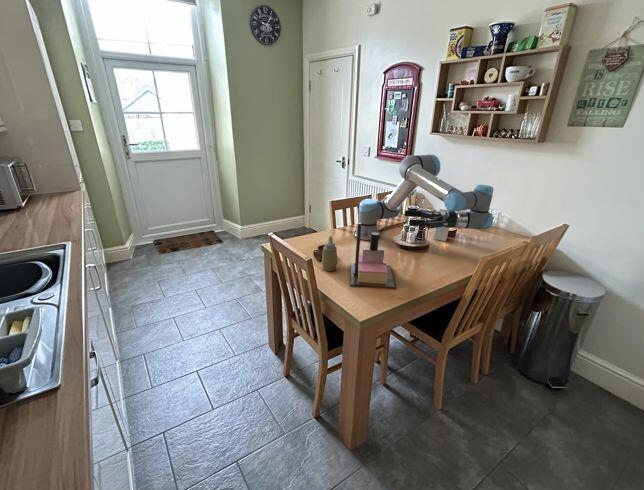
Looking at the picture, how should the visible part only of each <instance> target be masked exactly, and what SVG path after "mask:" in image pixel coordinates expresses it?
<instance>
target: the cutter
mask: <svg viewBox="0 0 644 490" xmlns="http://www.w3.org/2000/svg"><path fill="white" fill-rule="evenodd" d="M379 240H380V233H379V232H378V233H376V232H373V233H371V240H370V244H369V248H363V249H362V256H363V257H362V262H364V263H383V260H384V257H385V249H379Z"/></svg>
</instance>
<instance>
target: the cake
mask: <svg viewBox="0 0 644 490" xmlns="http://www.w3.org/2000/svg"><path fill="white" fill-rule="evenodd" d="M362 257H363V254H362V255H361V254H359V263H358V281H359V282H363V283H381V284H387V277H388V270H387V266H386V265H387V261H386V258H385V257H386V256H384V260H383V263H364V262H362Z"/></svg>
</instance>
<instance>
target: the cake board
mask: <svg viewBox="0 0 644 490" xmlns="http://www.w3.org/2000/svg"><path fill="white" fill-rule="evenodd" d="M357 226H358V228H357V227H356V228H357V238H356V243H355V245H356V246H355V258H354V263H350V287H354V288H355V287H357V288H371V289H392V290H395V289H396V286H395V281H394V277H393V274H392V269H391V266H390V264H389V265H388V264H386V266H387V270H388V277H387V284H381V283H363V282H359V281H358V263H359V255H360V248H361V239H360V235H361V223H358V222H357Z"/></svg>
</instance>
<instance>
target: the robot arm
mask: <svg viewBox="0 0 644 490" xmlns="http://www.w3.org/2000/svg"><path fill="white" fill-rule="evenodd" d="M398 172H399V174H400V176H401V178H402V180H401V181H400V182H399V184H398V185H397V186H396V187H395V189H394V190H393V191H392V192H391V193H390V194H387V195H386V196H384V197H383V198H382V200H378V199H377V198H365V199H362V200H361V201H360V202H359V207H358V222H357V224H358V223H361V235H360V241H371V233H373V232H376V233H379V232H381V231H383V230H384V229H387V228H391V227H395V226H399V225H402V224H406V223H408V226H409V227H424V228H427V229H436V228H438V227H446V228H449V229H458V230H461V229H469V230H489V229H490V228H491V227H492V226H493V223H494V216H493V213H491V212H490V208H491V203H492V199H493V195H494V187H493V186H491V185H488V184H476V185H475V186H474V189H473V190H469V191H462V190H459V189H458V188H456V187H454V186H453V185H452V184H449V183H447V182H446V181H444V180H443V179H441V178H439V177H437V176H438V175H439V174H440V172H441V160H440V159H439V157H438V156H437V155H436V154H431V153H429V154H415V155H414V154H413V155H409V156H406V157H405V158H403V159H402V161H400V164H399V168H398ZM418 187H419V188H421V189H423V190H424V191H426V192H427V193H429V194H430V195H432V196H433V197H435V198H437V199H438V200H440V201H442V202H443V203H444V207H445V210H449V211H447V212H446V213H445V215H442V214H441V212H439V211H436V209H433V210H427V209H421V208H419V210H410V209H407V210H406V209H405V210H404V215H403V216H404V217H411V218H412V217H415V218H418V217H421V218H426V219H416V220H413V219H409V220H410V221H409V220H405V221H402V222H399V223H394V224H391V225H387V226H384V227H382V228H381V229H378V221H379V220H385V219H393V218H396V217H398V216H399V215H400V214H401V210H402V203H403V202H405V200H406V199H407V198H408V197H409V196H410V195H411V194H412V193H413V192H414V191H415V190H416V189H417V188H418ZM467 210H469V211H467ZM407 221H409V222H407ZM357 228H358V225H357V226H356V229H355V230H354V237H355V238H356V239H357Z"/></svg>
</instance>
